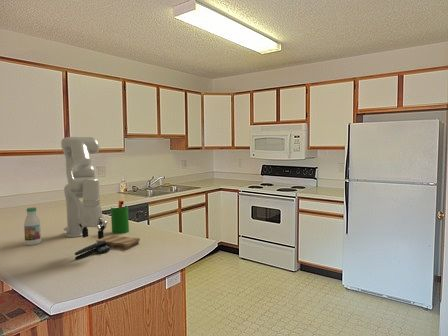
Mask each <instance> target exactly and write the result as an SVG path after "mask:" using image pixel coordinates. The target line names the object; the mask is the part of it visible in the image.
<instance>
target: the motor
mask: <svg viewBox="0 0 448 336" xmlns="http://www.w3.org/2000/svg"><path fill="white" fill-rule="evenodd" d="M123 205H124V200H119V201H118V207H117V208H116V207H110V217H111V220H110V221H111V233H112V234H114V235H118V234H121V235H122V234H126V233H129V232H130V224H129V223H130V222H129V221H130V220H129V206H128V205H125V206H124V207H123Z"/></svg>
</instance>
